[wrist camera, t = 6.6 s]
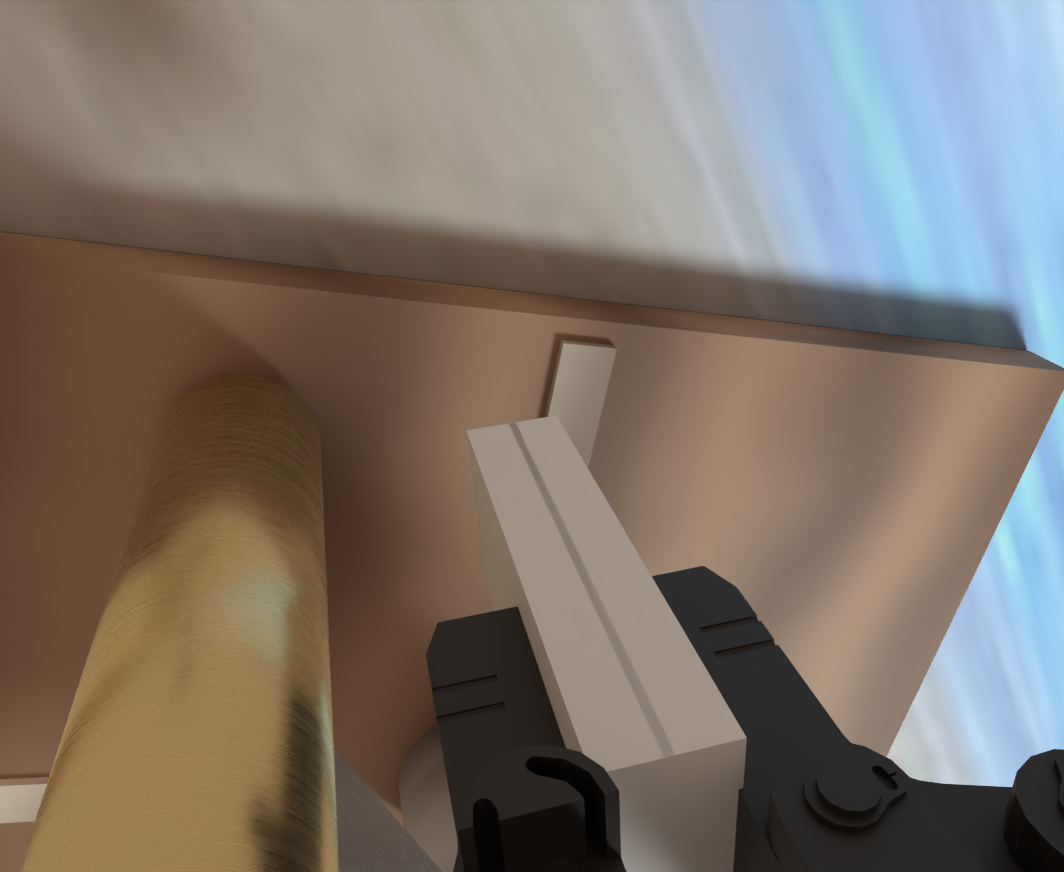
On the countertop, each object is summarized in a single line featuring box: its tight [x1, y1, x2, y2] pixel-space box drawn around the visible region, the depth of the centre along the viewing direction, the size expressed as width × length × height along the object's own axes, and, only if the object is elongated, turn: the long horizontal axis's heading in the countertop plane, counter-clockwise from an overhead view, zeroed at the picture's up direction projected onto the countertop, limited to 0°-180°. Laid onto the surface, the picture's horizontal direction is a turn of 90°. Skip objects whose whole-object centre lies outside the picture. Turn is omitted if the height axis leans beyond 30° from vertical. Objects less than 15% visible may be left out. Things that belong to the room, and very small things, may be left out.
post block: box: [0, 232, 1064, 872], centre depth 21 cm, size 26×26×9 cm
